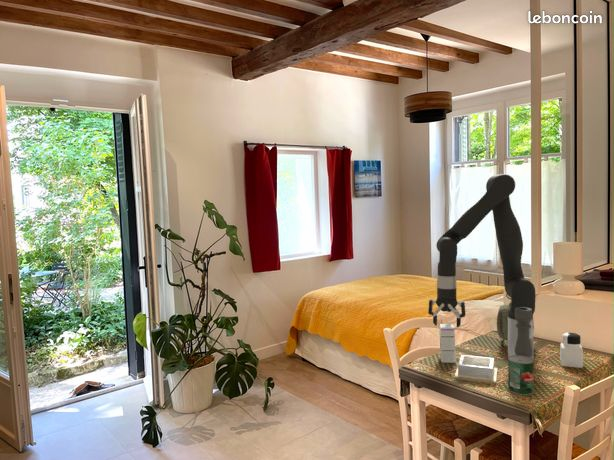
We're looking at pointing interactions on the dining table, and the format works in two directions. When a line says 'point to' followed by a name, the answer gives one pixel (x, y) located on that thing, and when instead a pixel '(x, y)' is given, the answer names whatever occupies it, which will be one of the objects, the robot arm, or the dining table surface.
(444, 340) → the syrup box
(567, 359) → the medicine bottle
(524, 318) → the candle holder
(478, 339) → the dining table surface
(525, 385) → the canned tomato
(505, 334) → the tabletop clock
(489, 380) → the rectangular hollow frame
